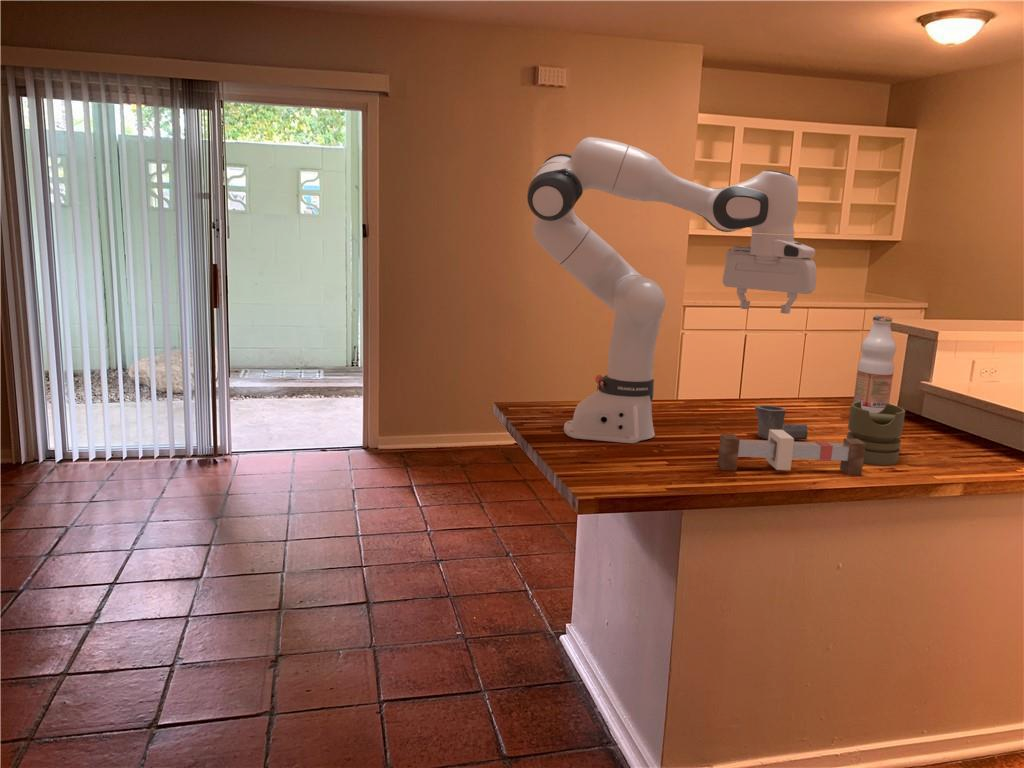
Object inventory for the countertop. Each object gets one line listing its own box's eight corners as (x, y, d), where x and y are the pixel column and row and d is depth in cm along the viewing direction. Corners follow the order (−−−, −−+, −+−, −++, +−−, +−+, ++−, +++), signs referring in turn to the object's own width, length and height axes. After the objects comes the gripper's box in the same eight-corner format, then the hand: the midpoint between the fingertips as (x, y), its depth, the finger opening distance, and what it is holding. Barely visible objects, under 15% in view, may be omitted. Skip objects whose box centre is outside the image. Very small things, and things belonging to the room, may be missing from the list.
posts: (722, 470, 166) (725, 438, 165) (717, 464, 170) (720, 433, 169) (861, 475, 167) (865, 444, 165) (853, 469, 171) (857, 438, 169)
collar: (776, 469, 165) (779, 438, 163) (765, 459, 172) (769, 429, 170) (790, 470, 165) (794, 438, 163) (779, 460, 172) (782, 429, 170)
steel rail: (728, 457, 166) (729, 442, 166) (723, 452, 169) (725, 438, 169) (857, 461, 166) (859, 447, 166) (851, 457, 170) (853, 442, 169)
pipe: (807, 445, 189) (811, 413, 187) (753, 440, 191) (756, 408, 190) (803, 438, 195) (807, 407, 193) (750, 433, 197) (754, 403, 195)
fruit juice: (846, 411, 226) (859, 315, 220) (859, 406, 232) (872, 313, 226) (879, 417, 219) (893, 319, 213) (892, 413, 226) (906, 317, 220)
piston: (846, 399, 184) (898, 403, 182) (840, 448, 187) (891, 452, 184) (856, 411, 173) (911, 415, 171) (849, 462, 176) (903, 467, 173)
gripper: (720, 245, 174) (715, 306, 176) (811, 250, 160) (803, 316, 163) (733, 245, 178) (728, 305, 181) (822, 250, 165) (815, 315, 168)
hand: (764, 311), depth 172 cm, fingers open, 8 cm apart
